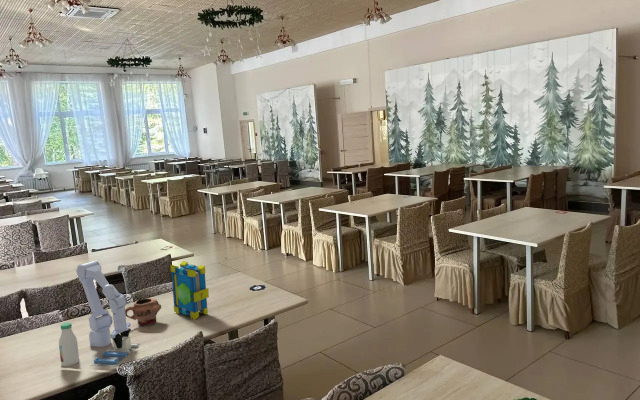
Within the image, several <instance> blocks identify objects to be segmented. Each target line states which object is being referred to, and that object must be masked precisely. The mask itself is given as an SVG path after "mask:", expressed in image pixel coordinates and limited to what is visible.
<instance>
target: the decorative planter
mask: <svg viewBox="0 0 640 400" xmlns="http://www.w3.org/2000/svg"><path fill="white" fill-rule="evenodd" d="M161 309H162V305H161V304H160V303H159V301H158V299H156V298H149V297H148V298H141V299H138V300H136V301H135V302H134V303H133V305H131V306H128V307H125V314H126V318H128V319H131V320H134V321H137V324H138V325H139V326H140V327H146V326H147V327H148V326H151V325H154V324H156V322H157V314H158V312H159V311H161ZM129 311H132V313H133V314H132V315H131V316H129V315H128V312H129Z"/></svg>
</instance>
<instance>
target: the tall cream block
mask: <svg viewBox="0 0 640 400" xmlns="http://www.w3.org/2000/svg"><path fill="white" fill-rule="evenodd" d="M131 343H132V342H131V336H128V337H125V336H123V338H122V348H117V346H116V344H115V342H114V340H113V339H112V345H113V347H114V349H115V350H129V349H131ZM113 347H112V348H113Z"/></svg>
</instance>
